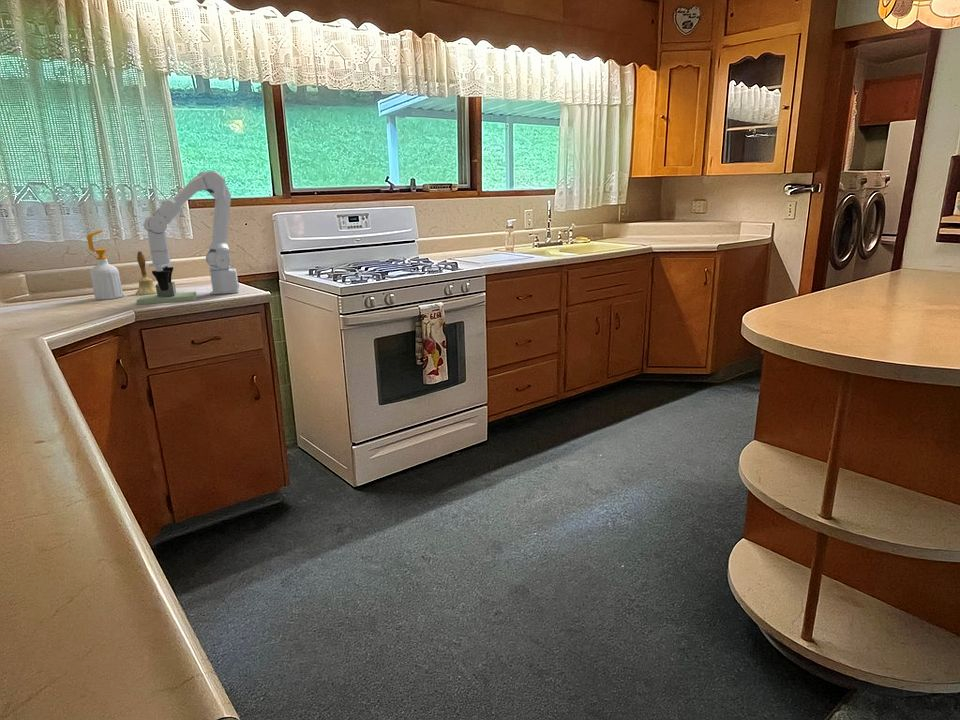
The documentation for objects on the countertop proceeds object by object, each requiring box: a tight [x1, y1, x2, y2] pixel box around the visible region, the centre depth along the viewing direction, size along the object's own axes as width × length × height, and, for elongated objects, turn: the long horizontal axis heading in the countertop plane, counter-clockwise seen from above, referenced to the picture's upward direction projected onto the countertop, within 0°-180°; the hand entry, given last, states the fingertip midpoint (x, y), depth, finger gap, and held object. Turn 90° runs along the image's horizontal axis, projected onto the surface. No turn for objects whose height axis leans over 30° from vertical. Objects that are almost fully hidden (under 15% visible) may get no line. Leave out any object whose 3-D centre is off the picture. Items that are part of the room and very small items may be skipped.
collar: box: [155, 281, 177, 297], centre depth 219 cm, size 5×5×4 cm
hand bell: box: [135, 251, 157, 296], centre depth 233 cm, size 8×8×16 cm
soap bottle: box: [86, 229, 124, 301], centre depth 224 cm, size 9×9×25 cm
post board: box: [136, 291, 198, 305], centre depth 219 cm, size 18×10×6 cm, turn 108°
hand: (166, 289), depth 219 cm, fingers open, 6 cm apart
